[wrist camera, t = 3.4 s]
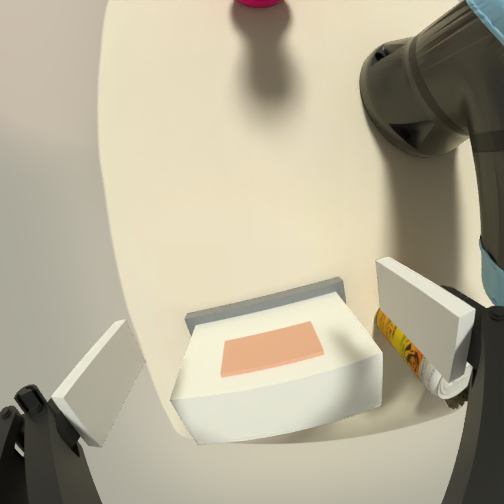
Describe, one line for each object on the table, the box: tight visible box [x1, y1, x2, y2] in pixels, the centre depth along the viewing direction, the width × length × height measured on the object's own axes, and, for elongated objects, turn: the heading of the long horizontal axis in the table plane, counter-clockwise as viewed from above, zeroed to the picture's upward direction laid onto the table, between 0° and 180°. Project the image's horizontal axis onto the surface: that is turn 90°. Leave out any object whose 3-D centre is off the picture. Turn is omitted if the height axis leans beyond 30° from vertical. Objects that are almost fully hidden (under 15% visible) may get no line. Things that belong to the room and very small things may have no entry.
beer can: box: [377, 309, 473, 399], centre depth 25 cm, size 6×6×15 cm
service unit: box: [170, 277, 383, 445], centre depth 25 cm, size 18×8×14 cm, turn 104°
